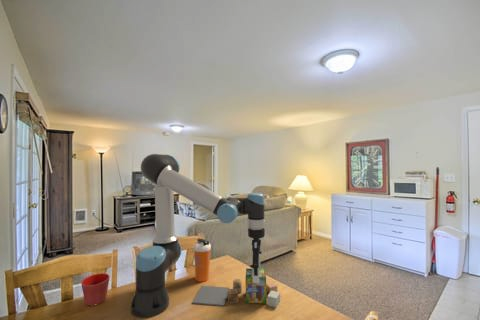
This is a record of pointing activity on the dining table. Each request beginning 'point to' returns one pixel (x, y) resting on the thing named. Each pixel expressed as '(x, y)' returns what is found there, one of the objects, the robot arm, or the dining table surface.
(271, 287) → the terracotta cube
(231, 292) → the walnut block
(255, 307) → the dining table surface
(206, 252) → the shaker bottle
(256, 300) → the chalk box
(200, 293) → the mat
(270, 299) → the grey plastic block
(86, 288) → the flower pot
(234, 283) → the oak cylinder
